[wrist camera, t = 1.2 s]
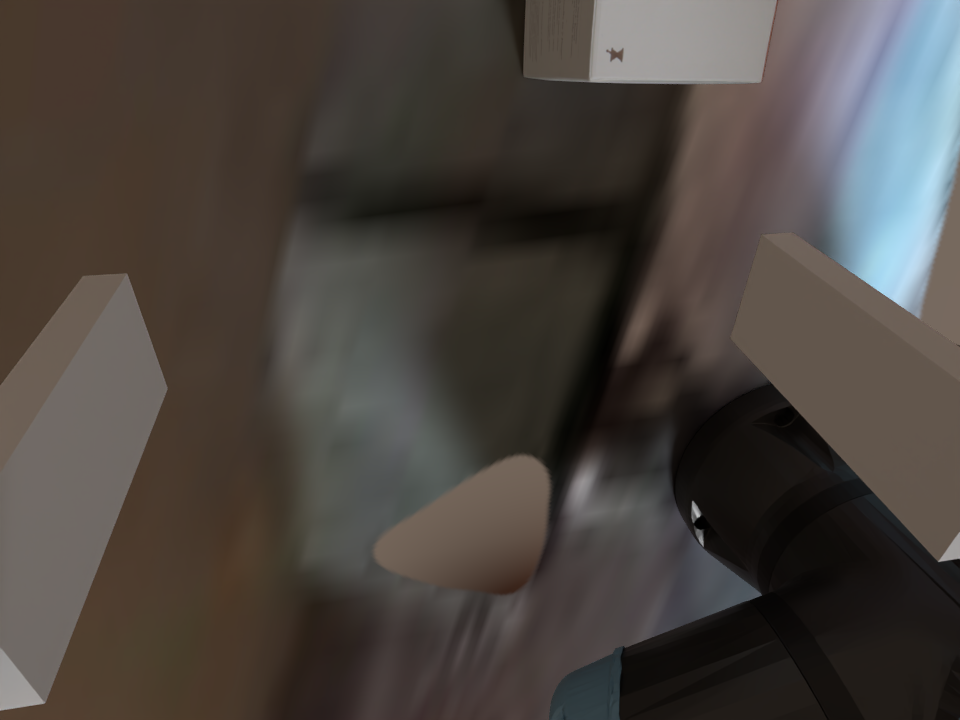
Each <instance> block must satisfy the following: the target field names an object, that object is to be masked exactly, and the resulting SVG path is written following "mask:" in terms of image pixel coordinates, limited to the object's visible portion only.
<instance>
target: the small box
mask: <svg viewBox="0 0 960 720" xmlns="http://www.w3.org/2000/svg"><path fill="white" fill-rule="evenodd" d="M777 4H778V0H526V9H525V33H524V63H523V76H524V77H526V78H533V79H540V80H554V81H575V82H597V83H636V84H749V83H760V82H762V79H763V76H764V71H765V65H766V60H767V55H768V50H769V45H770V40H771V34H772V29H773V24H774V19H775V14H776V9H777Z"/></svg>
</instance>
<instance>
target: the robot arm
mask: <svg viewBox="0 0 960 720" xmlns="http://www.w3.org/2000/svg"><path fill="white" fill-rule="evenodd" d="M730 339H731V340H732V341H733V342H734V343H735V344H736V345H737V346H738V348H739V349H740V350H741V351H742V352H743V353H744V354H745V355H746V356H747V357H748V358H749V359H750V360H751V361H752V363H753V364H754V365H755V366H756V367H757V368H758V369H759V370H760V371H761V372H762V373H763V374H764V375H765V377H766V378H767V379H768V380H769V381H770V382H771V383H772V384H771V385H767V386H764V387H761V388H758V389H756V390H753V391H751V392H749V393H747V394H745V395H743V396H741V397H739V398H737V399H735V400H734V401H732V402H731V403H729V404H728V405H726V406H725V407H723V408H722V409H721V410H720V411H718V412H717V413H716V414H715V415H714V416H712V417H711V418H710V419H709V420H708V421H707V422H706V423H705V424H704V425H703V426H702V427H701V429H700V430H699V431H698V432H697V433H696V435H695V436H694V437H693V439H692V440H691V442H690V443H689V445H688V447H687V448H686V450H685V452H684V454H683V456H682V459H681V461H680V464H679V467H678V470H677V475H676V482H675V496H676V502H677V506H678V509H679V512H680V514H681V516H682V518H683V520H684V521H685V523H686V525H687V526H688V528H689V529H690V531H691V533H692V534H693V536H694V538H695V539H696V540H697V542H698V543H699V544H700V545H701V546H702V547H703V548H704V549H705V550H706V551H707V552H708V553H709V554H710V555H712V556H713V557H714V558H716V559H717V560H718V561H720V562H721V563H722V564H723V565H725V566H726V567H727V568H729V569H730V570H731V571H733V572H734V573H735V574H737V575H738V576H739V577H741V578H742V579H743V580H744V581H746V582H747V583H748V584H750V585H751V586H752V587H754V588H755V589H756V590H758V591H759V592H760V593H761V594H762V596H760V597H757V598H755V599H752V600H750V601H745V602H743V603H740V604H737V605H735V606H732V607H730V608H727V609H725V610H722V611H719V612H717V613H714V614H712V615H709V616H706V617H704V618H701V619H699V620H696V621H694V622H691V623H688V624H686V625H683V626H681V627H678V628H675V629H673V630H670V631H668V632H665V633H663V634H660V635H657V636H655V637H652V638H650V639H647V640H644V641H642V642H639V643H637V644H634V645H632V646H629V647H626V648H625V647H624V646H623V647H619V648H616V649H615V650H614V652H613V654H611V655H609V656H606V657H604V658H602V659H600V660H598V661H595V662H593V663H591V664H589V665H586V666H584V667H582V668H580V669H578V670H575V671H573V672H571V673H570V674H568V675H567V676H565V677H564V678H563V679H562V680H561V682H560V683H559V684H558V686H557V688H556V690H555V692H554V694H553V697H552V701H551V706H550V713H549V720H960V346H959V345H957V344H955V343H953V342H952V341H950V340H949V339H948V338H946V337H945V336H943V335H942V334H940V333H939V332H937V331H936V330H934V329H933V328H931V327H930V326H928V325H927V324H926V323H924V322H923V321H921V320H920V319H918V318H917V317H915V316H914V315H912V314H911V313H910V312H908V311H907V310H905V309H904V308H902V307H901V306H899V305H898V304H896V303H895V302H893V301H892V300H891V299H889V298H888V297H886V296H885V295H883V294H882V293H880V292H879V291H877V290H876V289H875V288H873V287H872V286H870V285H869V284H867V283H866V282H864V281H863V280H861V279H860V278H858V277H857V276H856V275H854V274H853V273H851V272H850V271H848V270H847V269H845V268H844V267H842V266H841V265H839V264H838V263H837V262H835V261H834V260H832V259H831V258H829V257H828V256H826V255H825V254H823V253H822V252H820V251H819V250H818V249H816V248H815V247H813V246H812V245H810V244H809V243H807V242H806V241H804V240H803V239H801V238H800V237H799V236H797V235H796V234H794V233H793V232H791V233H775V234H761V237H760V240H759V244H758V247H757V250H756V254H755V257H754V260H753V264H752V267H751V270H750V274H749V277H748V280H747V284H746V287H745V290H744V294H743V297H742V300H741V304H740V307H739V310H738V314H737V317H736V320H735V324H734V327H733V330H732V334H731V337H730ZM167 389H168V388H167V386H166V383H165V380H164V377H163V374H162V371H161V369H160V366H159V363H158V360H157V357H156V354H155V351H154V349H153V346H152V343H151V340H150V337H149V334H148V332H147V329H146V326H145V323H144V320H143V317H142V314H141V312H140V309H139V306H138V303H137V300H136V297H135V295H134V292H133V289H132V286H131V283H130V280H129V278H128V275H127V273H125V274H109V275H93V276H83V277H82V278H81V280H80V281H79V282H78V284H77V285H76V286H75V288H74V289H73V290H72V292H71V293H70V294H69V296H68V297H67V298H66V300H65V301H64V302H63V303H62V305H61V306H60V307H59V309H58V310H57V311H56V313H55V314H54V315H53V317H52V318H51V319H50V321H49V322H48V323H47V325H46V326H45V327H44V329H43V330H42V331H41V333H40V334H39V335H38V337H37V338H36V339H35V340H34V342H33V343H32V344H31V346H30V347H29V348H28V350H27V351H26V352H25V354H24V355H23V356H22V358H21V359H20V360H19V362H18V363H17V364H16V366H15V367H14V368H13V370H12V371H11V372H10V374H9V375H8V376H7V377H6V379H5V380H4V381H3V383H2V384H1V385H0V710H6V709H12V708H19V707H25V706H31V705H38V704H44V703H45V702H46V700H47V697H48V695H49V692H50V689H51V687H52V684H53V682H54V679H55V677H56V674H57V671H58V669H59V666H60V664H61V661H62V659H63V656H64V653H65V651H66V648H67V646H68V643H69V641H70V638H71V635H72V633H73V630H74V628H75V625H76V623H77V620H78V617H79V615H80V612H81V610H82V607H83V605H84V602H85V599H86V597H87V594H88V592H89V589H90V587H91V584H92V581H93V579H94V576H95V574H96V571H97V569H98V566H99V563H100V561H101V558H102V556H103V553H104V551H105V548H106V545H107V543H108V540H109V538H110V535H111V533H112V530H113V528H114V525H115V522H116V520H117V517H118V515H119V512H120V510H121V507H122V504H123V502H124V499H125V497H126V494H127V492H128V489H129V486H130V484H131V481H132V479H133V476H134V474H135V471H136V468H137V466H138V463H139V461H140V458H141V456H142V453H143V450H144V448H145V445H146V443H147V440H148V438H149V435H150V432H151V430H152V427H153V425H154V422H155V420H156V417H157V414H158V412H159V409H160V407H161V404H162V402H163V399H164V396H165V394H166V391H167Z"/></svg>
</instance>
